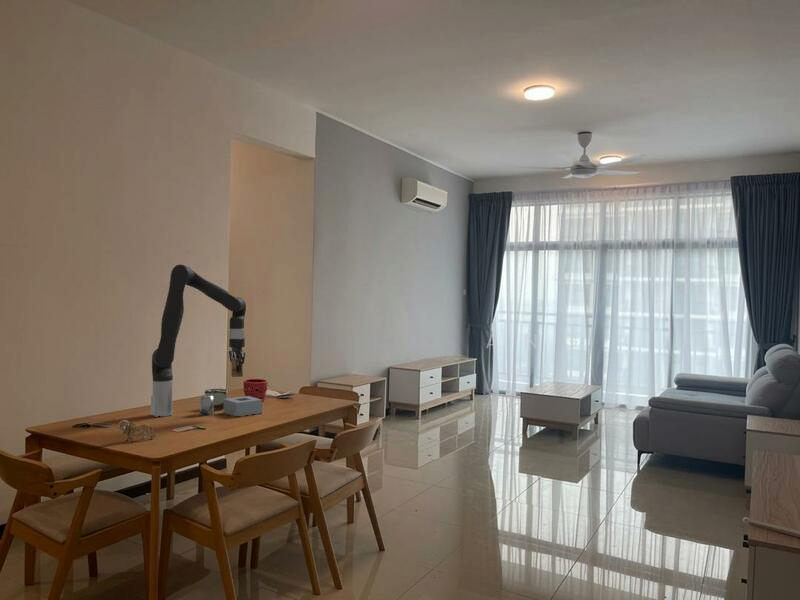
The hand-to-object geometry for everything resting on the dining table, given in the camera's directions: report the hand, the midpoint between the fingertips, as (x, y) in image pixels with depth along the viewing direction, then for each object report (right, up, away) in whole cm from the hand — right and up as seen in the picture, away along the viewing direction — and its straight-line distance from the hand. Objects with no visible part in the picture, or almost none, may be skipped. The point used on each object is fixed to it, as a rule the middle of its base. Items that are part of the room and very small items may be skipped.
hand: (237, 371), depth 299 cm
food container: (-15, -22, +17) cm, 31 cm away
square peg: (0, -2, 0) cm, 2 cm away
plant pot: (0, -22, +39) cm, 44 cm away
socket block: (+2, -22, +5) cm, 22 cm away
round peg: (-16, -21, +2) cm, 27 cm away
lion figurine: (-27, -22, -53) cm, 63 cm away
